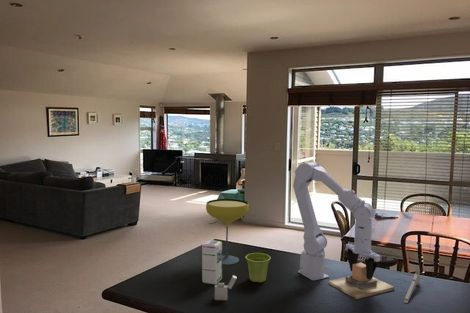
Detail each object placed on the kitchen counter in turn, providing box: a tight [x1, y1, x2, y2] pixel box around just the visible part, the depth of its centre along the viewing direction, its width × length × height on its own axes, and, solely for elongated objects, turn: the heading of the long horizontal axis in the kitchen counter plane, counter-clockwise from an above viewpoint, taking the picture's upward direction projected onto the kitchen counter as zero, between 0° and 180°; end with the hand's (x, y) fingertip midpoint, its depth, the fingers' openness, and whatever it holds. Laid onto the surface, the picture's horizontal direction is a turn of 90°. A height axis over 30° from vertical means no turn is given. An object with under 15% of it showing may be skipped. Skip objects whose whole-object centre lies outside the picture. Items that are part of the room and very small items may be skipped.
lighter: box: [214, 274, 237, 301], centre depth 121 cm, size 7×2×8 cm, turn 88°
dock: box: [328, 274, 395, 300], centre depth 133 cm, size 14×18×3 cm
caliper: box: [403, 268, 421, 304], centre depth 128 cm, size 20×1×6 cm, turn 144°
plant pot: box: [245, 252, 272, 283], centre depth 137 cm, size 9×9×9 cm
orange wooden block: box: [351, 262, 369, 283], centre depth 132 cm, size 4×4×7 cm
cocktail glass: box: [205, 198, 250, 266], centre depth 156 cm, size 18×18×25 cm
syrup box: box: [201, 239, 223, 285], centre depth 135 cm, size 6×6×14 cm
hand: (361, 274), depth 133 cm, fingers open, 7 cm apart
